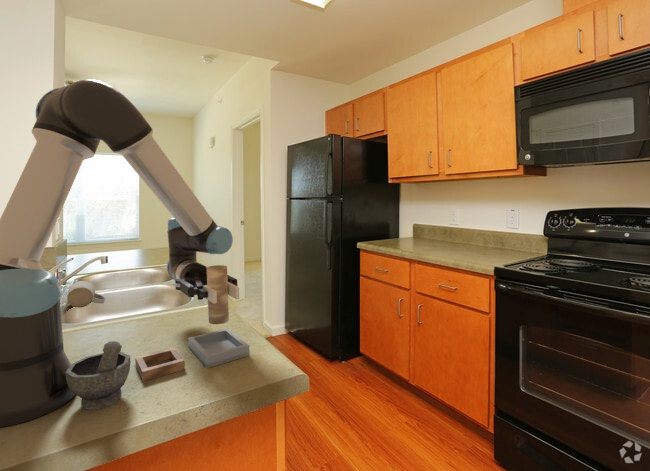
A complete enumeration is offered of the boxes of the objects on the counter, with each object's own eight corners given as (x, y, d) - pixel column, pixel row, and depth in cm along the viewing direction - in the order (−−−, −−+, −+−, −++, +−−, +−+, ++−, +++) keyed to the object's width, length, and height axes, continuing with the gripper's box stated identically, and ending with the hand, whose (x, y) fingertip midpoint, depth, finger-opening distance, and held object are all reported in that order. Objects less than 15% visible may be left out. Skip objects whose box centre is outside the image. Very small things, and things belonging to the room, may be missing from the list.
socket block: (143, 381, 70) (142, 371, 70) (135, 365, 76) (135, 357, 76) (184, 369, 75) (184, 360, 74) (174, 355, 81) (174, 347, 81)
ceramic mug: (67, 310, 113) (65, 287, 112) (68, 303, 119) (67, 281, 119) (105, 305, 118) (104, 283, 118) (105, 299, 125) (104, 278, 124)
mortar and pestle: (60, 403, 62) (54, 339, 61) (114, 380, 70) (110, 323, 69) (90, 425, 56) (85, 355, 55) (146, 397, 64) (143, 335, 63)
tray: (207, 368, 75) (206, 357, 75) (188, 347, 85) (188, 337, 85) (249, 355, 81) (249, 345, 81) (227, 337, 92) (227, 328, 91)
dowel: (212, 325, 80) (210, 270, 78) (206, 320, 83) (203, 266, 82) (231, 321, 82) (230, 267, 81) (224, 316, 86) (222, 264, 85)
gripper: (225, 284, 102) (262, 304, 84) (160, 294, 91) (186, 320, 73) (224, 258, 101) (261, 273, 83) (158, 266, 90) (185, 285, 72)
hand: (226, 295), depth 78 cm, fingers closed on dowel, 4 cm apart
